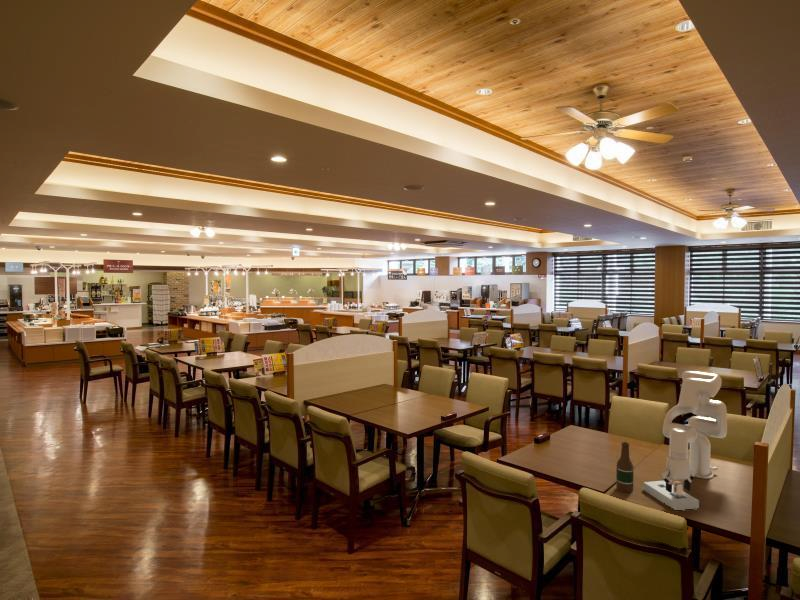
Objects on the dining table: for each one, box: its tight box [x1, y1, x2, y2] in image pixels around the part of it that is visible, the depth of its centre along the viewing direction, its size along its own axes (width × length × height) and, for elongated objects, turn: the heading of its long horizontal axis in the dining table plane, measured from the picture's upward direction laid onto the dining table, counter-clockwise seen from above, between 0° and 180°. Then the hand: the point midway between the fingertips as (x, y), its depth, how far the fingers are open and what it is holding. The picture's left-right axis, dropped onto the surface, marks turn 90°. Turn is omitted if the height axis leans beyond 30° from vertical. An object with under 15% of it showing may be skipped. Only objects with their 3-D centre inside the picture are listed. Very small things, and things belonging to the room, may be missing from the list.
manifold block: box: [642, 480, 700, 511], centre depth 224 cm, size 12×22×4 cm, turn 9°
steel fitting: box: [672, 480, 684, 499], centre depth 219 cm, size 4×4×10 cm
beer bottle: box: [615, 441, 635, 494], centre depth 235 cm, size 8×8×24 cm
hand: (677, 490), depth 219 cm, fingers open, 9 cm apart
